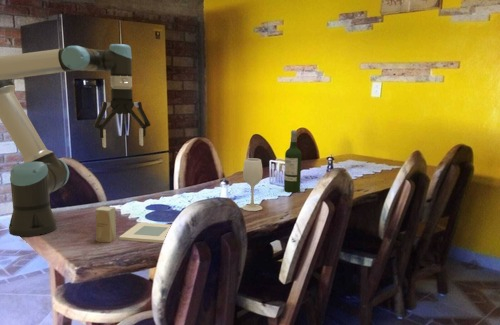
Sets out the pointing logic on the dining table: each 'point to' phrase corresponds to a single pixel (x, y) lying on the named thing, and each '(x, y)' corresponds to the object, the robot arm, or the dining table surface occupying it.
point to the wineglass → (252, 179)
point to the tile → (146, 232)
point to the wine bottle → (292, 166)
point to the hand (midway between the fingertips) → (123, 146)
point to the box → (105, 224)
